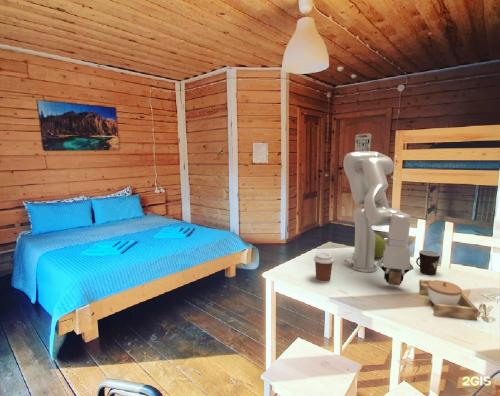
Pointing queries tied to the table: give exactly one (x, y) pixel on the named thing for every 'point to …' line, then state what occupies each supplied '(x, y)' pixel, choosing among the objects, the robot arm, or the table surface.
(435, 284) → the lidded jar
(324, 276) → the coffee cup
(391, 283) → the walnut block
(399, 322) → the table surface
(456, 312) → the holder
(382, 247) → the fruit
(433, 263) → the coffee mug
